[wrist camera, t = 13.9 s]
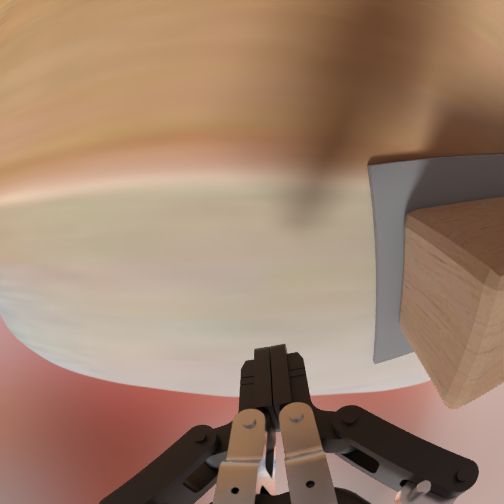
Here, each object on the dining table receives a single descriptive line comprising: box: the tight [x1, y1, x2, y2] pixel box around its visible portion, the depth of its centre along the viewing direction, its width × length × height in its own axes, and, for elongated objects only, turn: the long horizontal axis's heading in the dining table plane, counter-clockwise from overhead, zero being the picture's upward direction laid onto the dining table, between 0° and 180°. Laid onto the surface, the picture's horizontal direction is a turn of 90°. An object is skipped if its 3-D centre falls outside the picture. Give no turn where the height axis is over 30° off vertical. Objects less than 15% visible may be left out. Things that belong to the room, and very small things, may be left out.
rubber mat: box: [368, 154, 504, 364], centre depth 17 cm, size 17×27×1 cm, turn 103°
